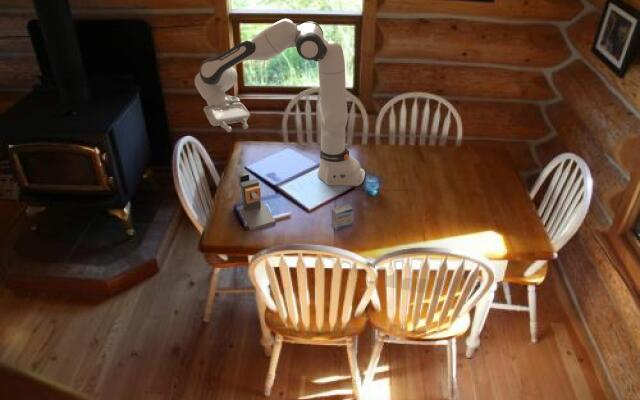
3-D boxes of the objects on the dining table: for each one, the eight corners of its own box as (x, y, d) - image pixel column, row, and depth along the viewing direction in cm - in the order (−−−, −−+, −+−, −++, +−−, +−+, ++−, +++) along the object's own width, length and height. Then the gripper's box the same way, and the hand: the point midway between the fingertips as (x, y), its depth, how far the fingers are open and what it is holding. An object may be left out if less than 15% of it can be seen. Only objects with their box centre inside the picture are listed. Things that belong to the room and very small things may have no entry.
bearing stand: (237, 209, 226) (234, 182, 217) (261, 202, 230) (259, 175, 221) (250, 231, 214) (247, 202, 205) (275, 223, 218) (273, 195, 209)
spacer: (245, 201, 219) (244, 188, 215) (259, 197, 221) (258, 184, 217) (247, 203, 217) (246, 191, 214) (260, 200, 220) (260, 187, 216)
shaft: (239, 184, 227) (237, 173, 223) (247, 182, 228) (246, 171, 225) (252, 205, 215) (251, 193, 211) (261, 202, 216) (260, 191, 213)
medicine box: (336, 230, 214) (336, 214, 209) (330, 224, 218) (331, 208, 212) (352, 225, 217) (353, 208, 212) (347, 219, 221) (348, 202, 215)
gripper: (204, 101, 210) (223, 128, 207) (241, 97, 225) (258, 121, 223) (198, 112, 214) (216, 138, 211) (234, 107, 229) (251, 130, 226)
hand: (238, 129), depth 217 cm, fingers open, 8 cm apart
